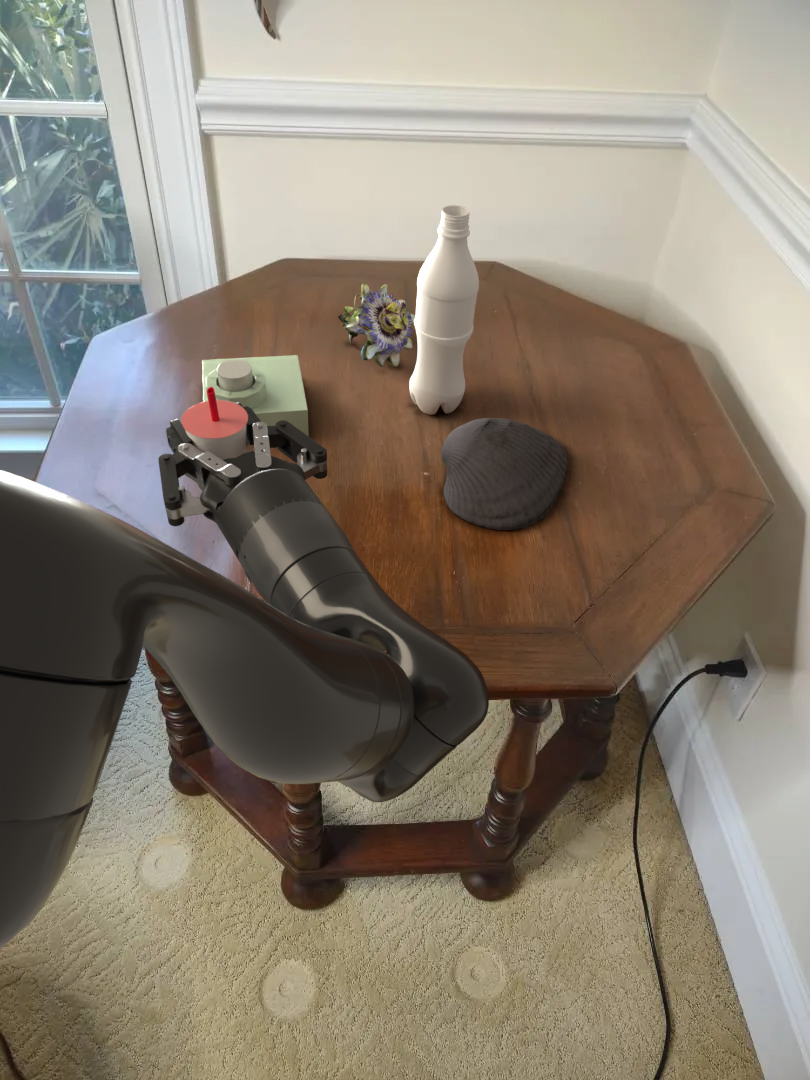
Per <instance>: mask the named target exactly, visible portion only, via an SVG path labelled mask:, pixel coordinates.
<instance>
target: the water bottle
mask: <svg viewBox="0 0 810 1080" xmlns="http://www.w3.org/2000/svg"><path fill="white" fill-rule="evenodd" d="M469 223H470V210H469V209H468V208H467V207H465V206H461V205H456V204H451V205H446V206H444V207H442V209H441V214H440V222H439V223H438V227H437V230H436V232H437V234H438V238H437V241H436V243H435V245H434V247H433V249H431V251H430V252H429V254H428V256H427V257H426V259H425V261H424V262H423V264H422V266H421V267H420V269H419V271H418V275H417V278H416V287H417V289H416V290H417V291H416V301H415V302H416V303H415V304H416V305H415V319H414V323H413V325H414V329H415V334H416V342H417V354H416V355H417V356H416V362H415V366H414V370H413V372H412V374H411V376H410V378H409V380H408V387H409V389H408V390H409V395H410V398H411V400H412V402H413V404H414V405H417V407H418V409H419V411H421V412H422V413H423V414H427V415H435V414H436V413H437V412H438V411H439V408H440V407H441V409H442V411H443V412H444V414H446V415H447V414H451V413H452V412H454V411H455V410H456V409H457V408H458V406H459V405H460V404H461V402H462V401H463V398H464V394H465V391H466V379H465V374H464V353H465V348H466V345H467V344H468V341H469V340H470V339H471V337H472V334H473V331H474V328H475V327H474V326H475V325H474V320H475V319H474V318H475V311H476V305H477V297H478V293H479V290H480V278H479V273H478V269H477V267H476V263H475V262H474V259H473V257H472V254H471V252H470V249H469V246H468V237H470V235H471V230H470V225H469Z"/></svg>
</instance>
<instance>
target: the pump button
mask: <svg viewBox="0 0 810 1080" xmlns="http://www.w3.org/2000/svg"><path fill="white" fill-rule="evenodd" d="M217 375H218V382H219V386H220V388H221V389H222V390H225V391H229V392H240V391H244V390H247V389H249V388H251V387H252V385H253V375H252V367H251V365H250V364H249V363H248V362H246V361H243V360H228V361H225V362H223V363H221V364H220V365H219V366H218V368H217Z"/></svg>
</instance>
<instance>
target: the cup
mask: <svg viewBox="0 0 810 1080" xmlns="http://www.w3.org/2000/svg"><path fill="white" fill-rule="evenodd" d="M207 397H208V401H205V402H203V401H201V402H198V403H196V404H194V405H192V406H191V407H189V408H188V409H186V411H185V412H183V414H182V417H181V424H182V425H183V427H184V429H185V431H186V434H187V435H188V436H189V438H191V439H192V441H193V446H195V447H196V448H198V449H199V450H201V451H202V452H205V451H209V452H211V453H212V454H214V455H215V456H217V457H218V458H220V459H222V460H224V459H228V458H236V457H238V456H240V455H242V454H244V453H247V441H246V424H247V421H248V414H247V412H246V411H245V409H244V408H242V407H241V406H240V405H238V404H236V403H233V402H229V401H223V400H216V397H215V391H214V388H213V387H209V388H208V389H207Z"/></svg>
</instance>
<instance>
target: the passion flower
mask: <svg viewBox="0 0 810 1080" xmlns="http://www.w3.org/2000/svg"><path fill="white" fill-rule="evenodd" d="M388 289H389V288H388V284H383V285H382V286H381V287H379V289H378V290H375V292H374V291H373V290H372V289H370V288H369V285H368V284H366V283H361V291H360V292H361V293H360V292H357V293H356V294H355V297H354V302H353V306H345V307H344V308H343V313H340V314H339V315H338V320H340V322H341V327H344V330H345V331H347V333H348V335H349V336H348V338H349V342H350V343H349V344H350V345H352V343H353V339H354V338H356V337H358V336H359V335H364V336H366V338H367V339H366V343H365V344H364V345H363V346H362V348H361V351H360V357H361V359H362V360H363V361H369V360H370V359H371V360H372V358H373V359H374V361H375V362H376V364H378V366H379V367H380V368H382V367H383V366H384V365H385V362H387V363H388V364H389V365H390V366H392V367H394V368H397V367H398V366H399V364H400V361H401V360H400V353H401V351H402V350H403V349H405V350H412V349H413V340H412V339H411V337H413V335H412V332H414V333H416V330H414V329H413V328H412V324H414V319H415V316H416V314H414V313H410V311H408V309H407V307H406V306H407V305H406V301H405V300H404V299H401V298H400V299H398V298H397V297H398V295H395V296H396V298H394V294H393V293H391V294H390V295H389V293H388ZM357 297H358V299H360V301H361V303H360V304H359V305H358V306H357V305H356V304H357ZM393 298H394V299H393ZM352 311H353V313H352V314H350V313H351V312H352Z"/></svg>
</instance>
